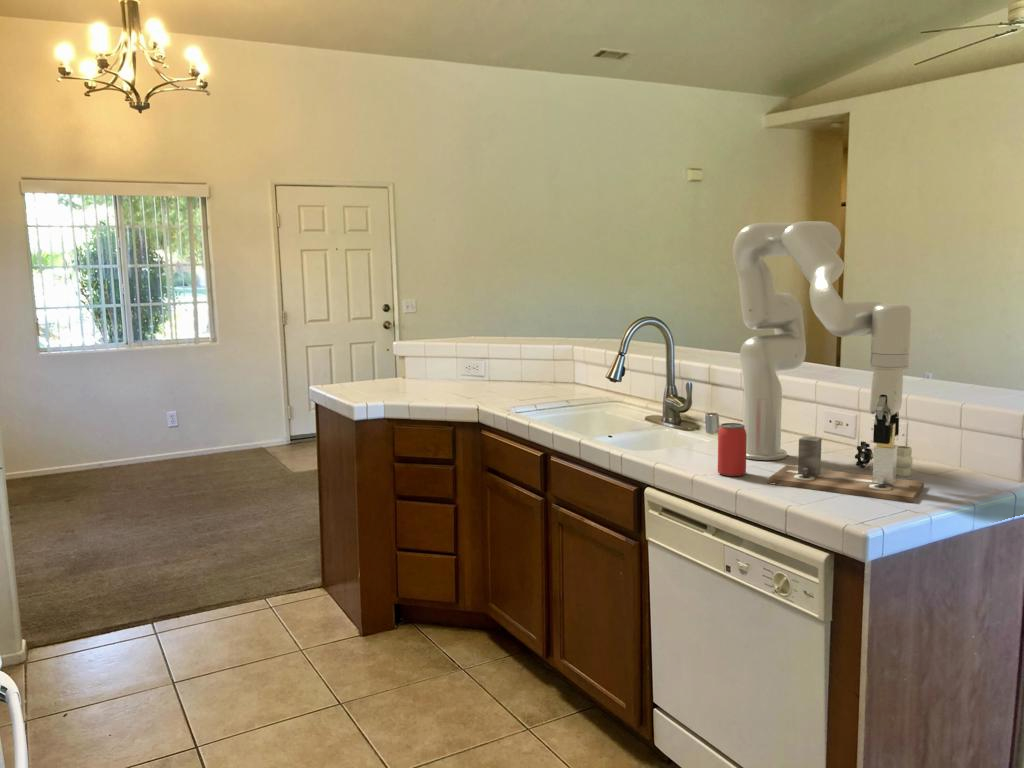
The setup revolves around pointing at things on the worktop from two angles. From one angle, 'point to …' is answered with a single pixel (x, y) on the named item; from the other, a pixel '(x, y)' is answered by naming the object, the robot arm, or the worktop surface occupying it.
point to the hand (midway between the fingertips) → (885, 438)
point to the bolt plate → (839, 477)
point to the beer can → (732, 449)
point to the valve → (902, 458)
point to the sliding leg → (885, 460)
